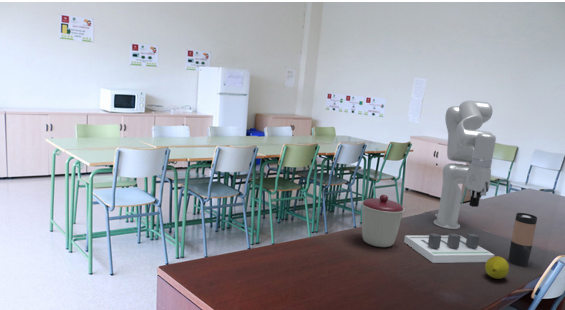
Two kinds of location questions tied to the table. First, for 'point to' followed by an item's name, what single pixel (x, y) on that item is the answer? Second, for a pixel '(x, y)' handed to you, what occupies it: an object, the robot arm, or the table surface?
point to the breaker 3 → (472, 240)
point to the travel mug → (522, 239)
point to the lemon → (497, 267)
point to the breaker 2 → (453, 240)
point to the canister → (380, 221)
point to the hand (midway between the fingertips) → (473, 206)
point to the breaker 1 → (434, 240)
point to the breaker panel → (447, 250)
